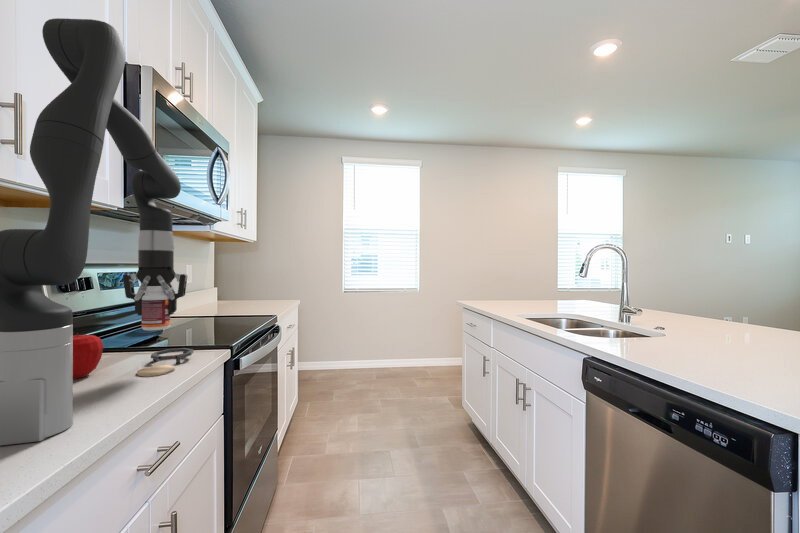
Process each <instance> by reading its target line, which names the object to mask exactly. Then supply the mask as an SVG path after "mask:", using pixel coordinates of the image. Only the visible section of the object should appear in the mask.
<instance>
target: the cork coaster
mask: <svg viewBox="0 0 800 533" xmlns="http://www.w3.org/2000/svg"><path fill="white" fill-rule="evenodd" d="M175 370H176V367H175V366H174V365H171V364H164V365H162V364H160V365H152V366H148V367H144V368H141V369H139V370H138V371H137V372H136V373H137V374H136V375H137V376H139V377H159V376H163V375H167V374H170V373H172V372H175Z"/></svg>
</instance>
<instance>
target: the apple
mask: <svg viewBox="0 0 800 533" xmlns="http://www.w3.org/2000/svg"><path fill="white" fill-rule="evenodd" d="M103 352H104V344H103V341H102V339H101V338H100V337H98V336H96V335H94V334H79V333H78V332H76V334H75V335H74V334H73V380H77V379H81V378H84V377H87V376H88V375H89V374H91V373H92V372H93V371H94V370H96V369H97V367H98V365H99V363H100V361H101V359H102V356H103Z"/></svg>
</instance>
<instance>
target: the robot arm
mask: <svg viewBox="0 0 800 533" xmlns="http://www.w3.org/2000/svg"><path fill="white" fill-rule="evenodd" d="M41 32H42V38H43V43H44V44H45V47H46V49H47V51H48V53H49V54H50V57H51V58H52V59H53V61H54V62H55V64H56V66H57V67H58V68H59V69H60V71H61V72H62V73H63V75H64V76H65V77H66V79H67V80H68V81H69V82H70V84H69V85H68V86H67V87H66V88H65V89H64V90H63V91H62V92H60V93H59V94H58V95H57V96H56V97H55V98H53V99H52V100H51V101H50V102H49V103H48V104H47V105H46V106H45V107H44V108H43V109H42V111H40V113H39V115H38V117H37V118H36V121H35V125H34V128H33V132H32V137H31V139H30V144H29V145H30V146H29V155H30V159H31V161H32V165H33V166H34V169H35V170H36V172H37V174H38V176H39V178H40V179H41V181H42V182H43V185H44V186H45V188H46V190H47V194H48V196H49V204H50V205H49V212H48V213H49V214H48V218H47V222H46V225H45V228H44V229H39V228H38V229H36V228H35V229H33V228H31V229H30V228H29V229H28V228H10V229H8V228H7V229H3V230H0V446H8V445H15V444H26V443H34V442H41V441H44V440H45V439H47V438H49V437H51V436H54V435H58V434H59V433H61V432H64V431H66V430H68V429H69V428H70V427H71V426H72V425H73V424H74V423H73V421H74V420H73V419H74V418H73V417H74V414H73V413H74V412H73V411H74V409H73V408H74V405H73V404H74V400H73V398H74V397H73V395H74V389H73V387H74V384H73V383H74V381H73V380H74V379H73V336H74V328H73V327H74V325H73V323H74V321H73V320H74V315H73V310H72V309H71V307H69V306H67V305H65V304H62V303H60V302H59V303H58V302H56V301H54V300H52V299H50V298H49V297H48V296H46V294H44V293H45V292H44V291H43V290H44V289H43V287H42V286H67V285H70V284H72V283H74V282H76V281H77V280H78V279H79V278H80V276H81V275H82V273H83V271H84V269H85V266H86V263H87V262H86V261H87V257H88V247H89V239H90V238H89V235H90V220H91V212H92V211H91V209H92V204H93V202H92V201H93V196H94V190H95V183H96V180H97V174H98V170H99V166H100V164H101V158H102V154H103V148H104V142H105V135H106V131H107V132H108V134H109V135H110V137H111V138H112V140H113V142H114V144H115V146H116V147H117V149H118V151H119V153H120V154H121V157H122V158H123V160H124V161H125V163H126V164H127V166H129V167H131V168H133V169H136V170H137V171H136V172H135V173H134V174H133V175H132V177H131V180H130V187H131V191H132V194H133V197H134V200H135V204H136V207H137V211H138V215H139V231H138V232H139V234H138V243H137V244H138V246H137V247H138V250H137V253H138V254H137V258H138V259H137V260H138V262H137V265H138V266H137V268H138V269H137V272H136V273H132V274H131V273H126V274H123V276H122V280H123V287H124V295H125V298H126V299H131V300H133V301H134V313H135V314H137V316H138V317H139V316H142V296H143V295H145V294H146V291H145V289H146V287H147V286H162V287H163V289H164V291H165V292H166V293H167V295H168V296H169V298H170V300H169V315H170V316H171V315H174V314H175V312H177V307H178V306H177V305H178V304H177V300H178V299H180V298H183V297H185V296H186V290H187V282H188V274H186V273H176V272H175V269H174V266H175V265H174V258H175V257H174V255H175V254H174V252H175V251H174V249H175V245H174V235H173V213H172V211H171V210H170V209H168V208H165V207H160V206H157V204H156V203H155V200H156V199H158V200H159V199H160V200H164V199H165V200H171V199H175V198H177V197H178V196H179V194H180V193H181V189H182V188H181V187H182V186H181V181H180V179H179V177H178V175H177V174H176V172H175V171H174V170H173V169H172V166H170V165H169V164H168V163H167V161H166V160H165V159H164V158H163V157H162V156H161V155H160V154H159V152H158V151H157V149H156V146H155V145H154V142H153V140H152V138H151V136H150V134H149V133H148V130H147V129H146V127H145V126H144V125H143V123H142V122H141V121H140V120H139V119H138V118H137V117H136V116H135V115H134V114H132V112H130V111H129V110H128V109H127V108H125V106H123V105H122V104H121V103H120V102H119V101H118V100H116V98H115V95H116V93H117V90H118V88H119V85H120V83H121V79H122V76H123V73H124V70H125V64H126V50H125V45H124V41H123V39H122V36H121V35H120V33H119V32H118V30H116V29H115V27H114V26H112V25H111V24H109V23H107V22H106V21H102V20H97V19H92V18H62V17H61V18H58V17H57V18H51V19H48V20H46V21H45V22H44V24H43V26H42V31H41ZM174 279H176V282H177V283H178V290H177V293H176V291H175V289H174V287H173V284H172V282H173V280H174ZM136 280H138V281H139V282H140V283H141V284H140V286H139V288H138V289H137V292H136V293H135V284H134V283H135V282H136Z"/></svg>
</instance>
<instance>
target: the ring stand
mask: <svg viewBox="0 0 800 533" xmlns="http://www.w3.org/2000/svg"><path fill="white" fill-rule="evenodd" d="M180 352H181V353H180ZM194 352H195V351H194V348H193V349H192V348H187V347H181V348H178V347H177V348H167V349H163V350H158V351H154V352H153V353H152V354H151V355H150V359H152V362H153V363H158V360H160V361H163V360H175V364H176V365H180V364H181V359H182V358H188V357H190V356H192V355H193V353H194ZM168 353H179V354H172V355H164V354H168Z"/></svg>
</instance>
